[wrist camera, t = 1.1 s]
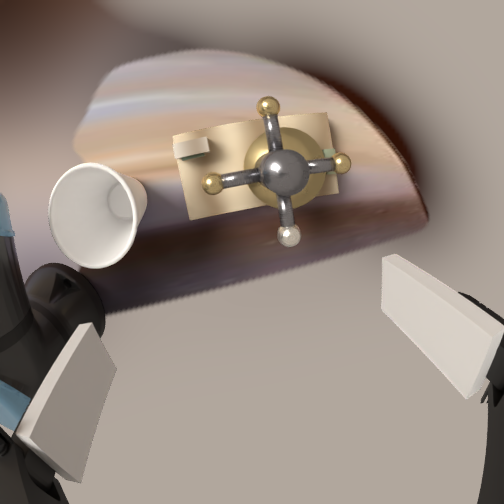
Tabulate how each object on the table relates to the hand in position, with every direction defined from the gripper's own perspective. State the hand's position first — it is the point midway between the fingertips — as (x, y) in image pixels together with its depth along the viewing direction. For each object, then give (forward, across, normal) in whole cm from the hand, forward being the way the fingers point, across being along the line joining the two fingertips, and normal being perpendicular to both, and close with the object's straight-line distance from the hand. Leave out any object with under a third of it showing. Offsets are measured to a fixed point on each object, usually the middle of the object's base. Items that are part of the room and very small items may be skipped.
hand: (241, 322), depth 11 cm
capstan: (+21, +6, +4) cm, 23 cm away
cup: (+25, -12, +5) cm, 28 cm away
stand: (+24, +5, +5) cm, 25 cm away
